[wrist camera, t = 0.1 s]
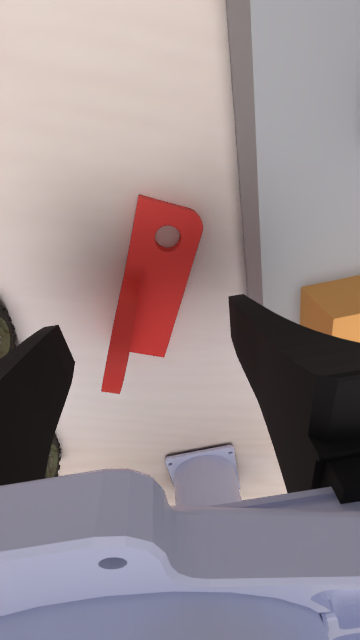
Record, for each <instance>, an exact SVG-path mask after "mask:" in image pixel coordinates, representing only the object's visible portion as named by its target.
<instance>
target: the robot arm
mask: <svg viewBox="0 0 360 640" xmlns="http://www.w3.org/2000/svg"><path fill="white" fill-rule="evenodd" d="M229 311H230V327H231V338H232V341H233V345H234V348H235V351H236V354H237V357H238V359H239V361H240V363H241V366H242V368H243V370H244V372H245V374H246V376H247V378H248V381H249V383H250V385H251V387H252V389H253V391H254V393H255V395H256V398H257V400H258V403H259V405H260V408H261V411H262V414H263V416H264V419H265V422H266V425H267V428H268V431H269V434H270V437H271V441H272V444H273V447H274V450H275V453H276V456H277V459H278V463H279V466H280V469H281V472H282V476H283V479H284V482H285V486H286V489H287V494H281V495H275V496H268V497H262V498H256V499H249V500H243V501H242V500H241V496H240V492H239V490H240V485H239V479H238V472H237V465H236V459H235V452H234V447H233V446H232V445H226V446H220V447H215V448H210V449H204V450H199V451H194V452H188V453H183V454H178V455H173V456H168V457H166V458H165V463H166V466H167V468H168V471H169V474H170V476H171V479H172V482H173V484H174V487H175V498H176V506H169V504H168V501H167V498H166V495H165V492H164V490H163V489H162V488H161V486H160V485H159V484H158V483H157V482H156V481H155V480H154V479H153V478H152V477H151V476H150V475H147V474H144V473H141V472H138V471H135V470H132V469H103V470H96V471H90V472H84V473H78V474H71V475H65V476H59V477H53V478H46V479H45V474H46V469H47V463H48V459H49V454H50V450H51V445H52V441H53V437H54V434H55V430H56V427H57V424H58V421H59V418H60V416H61V413H62V410H63V407H64V404H65V401H66V398H67V395H68V392H69V389H70V386H71V383H72V378H73V372H74V365H75V361H74V359H73V357H72V355H71V352H70V350H69V348H68V345H67V343H66V341H65V339H64V336H63V334H62V332H61V330H60V327H59V325H55V326H49V327H44V328H42V329H40V330H39V331H37V332H36V333H34V334H33V335H31V336H30V337H29V338H27V339H26V340H25V341H23V342H22V343H21V344H19V345H18V346H17V347H15V348H14V349H13V350H11V351H10V352H9V353H7V354H6V355H5V356H3V357H2V358H0V640H360V343H359V342H354V341H350V340H346V339H342V338H338V337H335V336H331V335H328V334H324V333H321V332H318V331H315V330H313V329H310V328H307V327H305V326H302V325H299V324H297V323H295V322H293V321H290V320H288V319H286V318H284V317H282V316H280V315H278V314H276V313H275V312H273V311H271V310H269V309H267V308H266V307H264V306H262V305H261V304H259V303H257V302H256V301H254V300H252V299H251V298H249V297H247V296H246V295H244V294H241V295H235V296H229Z"/></svg>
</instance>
